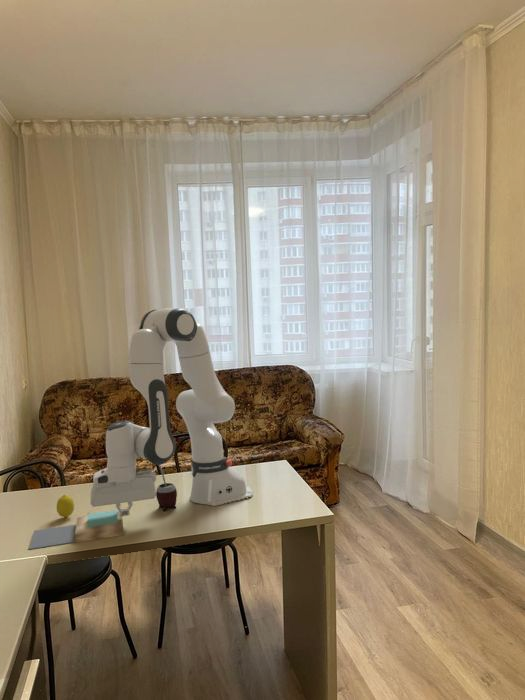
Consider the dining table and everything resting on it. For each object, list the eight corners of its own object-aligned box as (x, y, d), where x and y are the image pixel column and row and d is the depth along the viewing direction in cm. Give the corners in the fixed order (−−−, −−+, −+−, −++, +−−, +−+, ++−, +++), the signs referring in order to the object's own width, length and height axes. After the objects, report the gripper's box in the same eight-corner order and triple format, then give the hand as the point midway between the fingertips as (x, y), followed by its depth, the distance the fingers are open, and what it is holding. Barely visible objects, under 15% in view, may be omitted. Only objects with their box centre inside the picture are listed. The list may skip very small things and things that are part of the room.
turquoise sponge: (117, 516, 174) (116, 510, 174) (117, 522, 168) (117, 516, 168) (88, 520, 172) (87, 514, 172) (87, 527, 166) (87, 521, 166)
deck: (122, 518, 179) (121, 511, 178) (123, 534, 165) (123, 527, 165) (77, 525, 175) (77, 517, 175) (75, 542, 161) (74, 534, 161)
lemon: (57, 516, 183) (55, 493, 182) (74, 513, 185) (73, 491, 184) (57, 522, 178) (55, 498, 177) (75, 519, 180) (73, 496, 179)
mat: (77, 525, 175) (77, 524, 175) (75, 542, 161) (75, 541, 161) (34, 531, 171) (34, 530, 171) (28, 549, 158) (28, 548, 158)
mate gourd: (173, 512, 182) (170, 468, 181) (151, 511, 184) (148, 468, 183) (181, 504, 190) (178, 462, 188) (159, 503, 191) (157, 462, 190)
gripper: (154, 466, 177) (156, 507, 178) (89, 474, 171) (92, 516, 172) (156, 471, 171) (158, 514, 172) (88, 479, 165) (91, 523, 166)
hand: (124, 515), depth 172 cm, fingers closed
